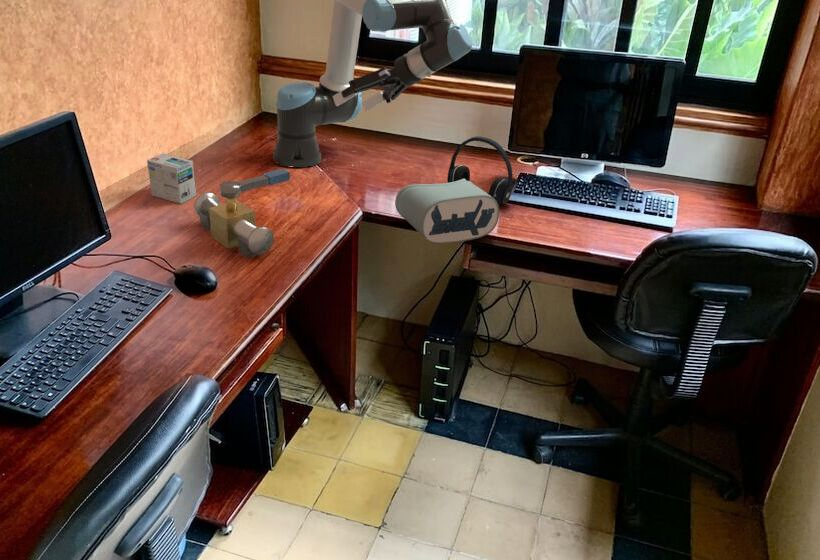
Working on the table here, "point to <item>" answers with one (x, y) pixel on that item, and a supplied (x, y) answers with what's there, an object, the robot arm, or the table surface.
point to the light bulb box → (171, 178)
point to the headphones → (499, 187)
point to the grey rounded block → (448, 211)
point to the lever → (253, 183)
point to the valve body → (233, 225)
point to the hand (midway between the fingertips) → (349, 104)
